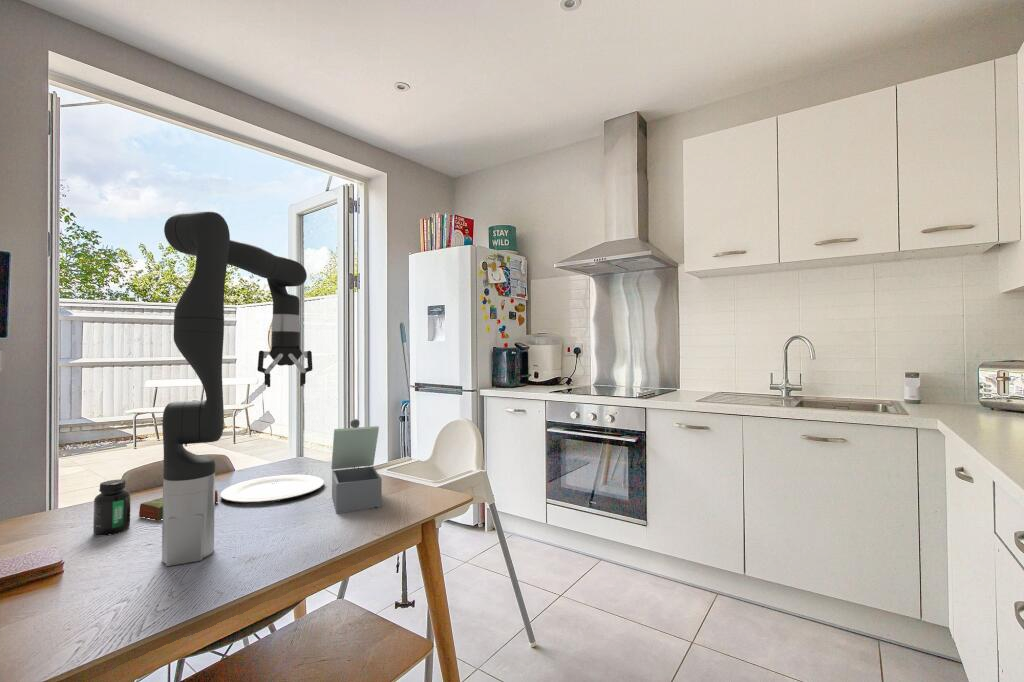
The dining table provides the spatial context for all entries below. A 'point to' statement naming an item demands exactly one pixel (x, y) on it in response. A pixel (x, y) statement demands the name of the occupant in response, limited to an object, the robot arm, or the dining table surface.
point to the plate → (272, 488)
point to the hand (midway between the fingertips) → (285, 386)
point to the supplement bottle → (112, 508)
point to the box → (356, 489)
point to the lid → (354, 446)
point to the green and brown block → (157, 508)
